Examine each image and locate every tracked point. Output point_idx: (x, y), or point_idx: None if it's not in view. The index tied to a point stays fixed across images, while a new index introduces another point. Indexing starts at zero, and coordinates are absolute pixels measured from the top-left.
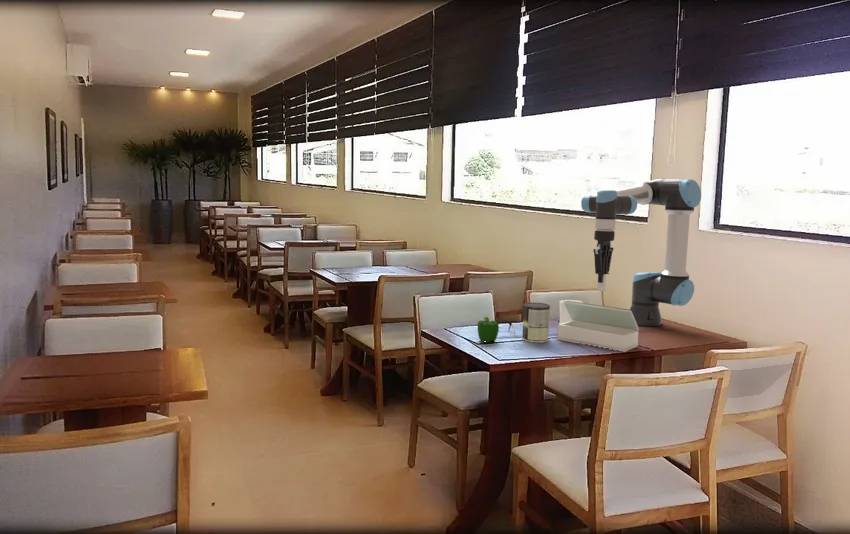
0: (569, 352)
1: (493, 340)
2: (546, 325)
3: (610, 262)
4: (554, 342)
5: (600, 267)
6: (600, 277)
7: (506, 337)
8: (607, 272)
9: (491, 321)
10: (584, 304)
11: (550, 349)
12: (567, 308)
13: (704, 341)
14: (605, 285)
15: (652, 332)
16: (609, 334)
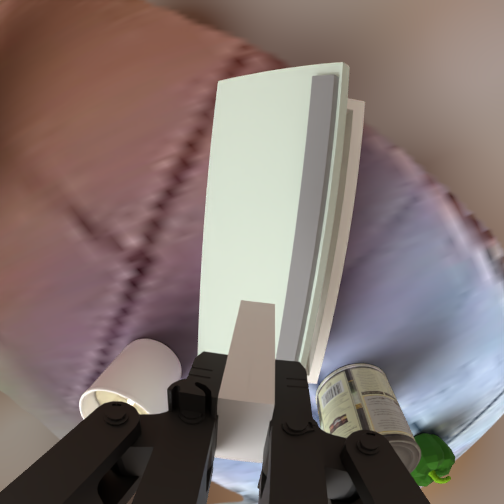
0: (451, 261)
1: (429, 434)
2: (378, 395)
3: (16, 482)
4: (356, 344)
5: (421, 496)
6: (308, 408)
7: None
8: (171, 406)
9: (427, 473)
10: (304, 357)
11: (442, 316)
12: None
13: (50, 3)
14: (238, 322)
15: (18, 147)
16: (356, 171)
